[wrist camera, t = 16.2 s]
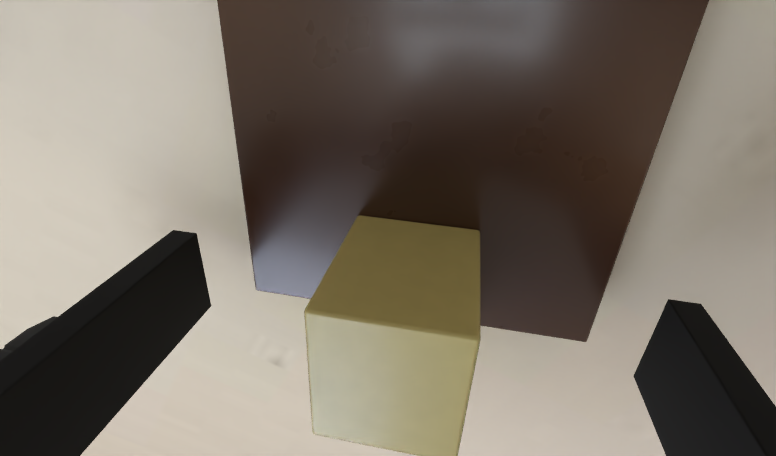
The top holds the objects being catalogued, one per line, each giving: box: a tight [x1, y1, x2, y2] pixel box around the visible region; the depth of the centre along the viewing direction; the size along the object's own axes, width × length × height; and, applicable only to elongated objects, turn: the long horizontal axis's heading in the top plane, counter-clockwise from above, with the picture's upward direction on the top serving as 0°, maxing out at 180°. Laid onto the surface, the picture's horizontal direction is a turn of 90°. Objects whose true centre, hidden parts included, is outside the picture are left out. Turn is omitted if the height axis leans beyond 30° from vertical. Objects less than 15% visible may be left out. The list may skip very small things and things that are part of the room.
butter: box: [304, 215, 480, 456], centre depth 11 cm, size 4×4×4 cm
